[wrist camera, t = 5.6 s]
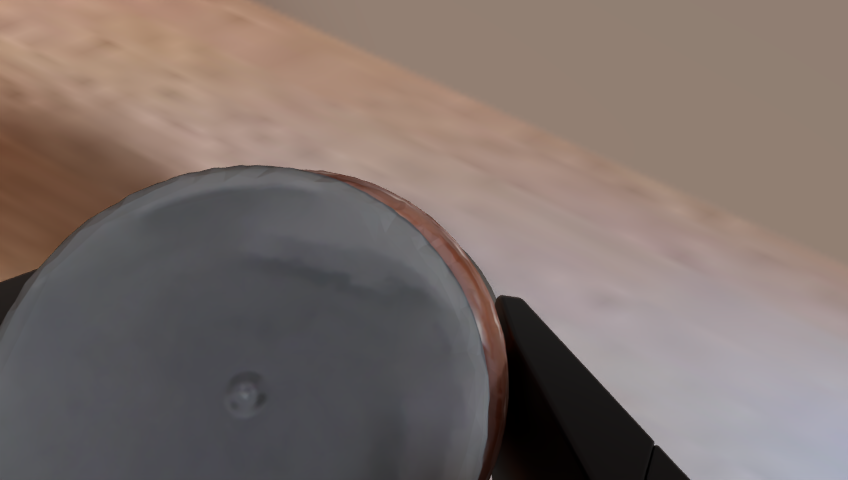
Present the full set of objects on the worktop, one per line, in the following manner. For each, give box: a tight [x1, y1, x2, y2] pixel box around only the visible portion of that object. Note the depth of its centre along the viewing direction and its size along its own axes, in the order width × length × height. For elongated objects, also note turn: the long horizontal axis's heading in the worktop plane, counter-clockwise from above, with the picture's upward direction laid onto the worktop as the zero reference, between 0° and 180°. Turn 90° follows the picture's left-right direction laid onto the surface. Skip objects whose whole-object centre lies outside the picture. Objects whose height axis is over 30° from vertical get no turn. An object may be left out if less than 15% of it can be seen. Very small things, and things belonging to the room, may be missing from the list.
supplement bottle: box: [0, 165, 509, 480], centre depth 9 cm, size 6×6×11 cm
